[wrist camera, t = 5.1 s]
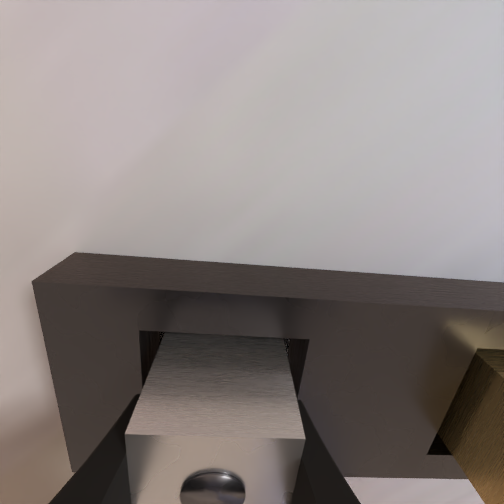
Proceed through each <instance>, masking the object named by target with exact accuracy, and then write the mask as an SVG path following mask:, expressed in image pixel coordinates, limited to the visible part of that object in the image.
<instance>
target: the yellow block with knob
mask: <svg viewBox="0 0 504 504" xmlns="http://www.w3.org/2000/svg"><path fill="white" fill-rule="evenodd" d="M437 433H438V435H439V436H440V438H441V439H442V441H443V442H444V444H445V445H446V446H447V448H448V449H449V451H450V452H451V454H452V455H453V457H454V458H455V460H456V461H457V463H458V464H459V466H460V467H461V469H462V470H463V472H464V473H465V475H466V476H467V478H468V479H469V481H470V482H471V483H472V485H473V486H474V488H475V489H476V491H477V492H478V494H479V495H480V497H481V498H482V500H483V501H484V503H485V504H504V350H502V349H483V348H477V350H476V352H475V354H474V356H473V358H472V360H471V363H470V365H469V367H468V369H467V371H466V373H465V375H464V377H463V379H462V381H461V383H460V386H459V388H458V390H457V392H456V394H455V396H454V398H453V400H452V402H451V404H450V407H449V409H448V411H447V413H446V415H445V417H444V419H443V421H442V423H441V425H440V427H439V430H438V432H437Z"/></svg>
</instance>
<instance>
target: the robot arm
mask: <svg viewBox="0 0 504 504" xmlns="http://www.w3.org/2000/svg"><path fill="white" fill-rule="evenodd" d="M139 397H140V394H136V395H135V396H134V397H133V398H132V400H131V401H130V403H129V404H128V406H127V407H126V409H125V410H124V411H123V413H122V414H121V416H120V417H119V418H118V420H117V421H116V422H115V424H114V425H113V426H112V428H111V429H110V430H109V432H108V433H107V434H106V436H105V437H104V438H103V439H102V441H101V442H100V443H99V445H98V446H97V447H96V448H95V450H94V451H93V452H92V453H91V455H90V456H89V457H88V458H87V460H86V461H85V462H84V463H83V465H82V466H81V467H80V468H79V469H78V470H77V472H76V473H75V474H74V475H73V476H72V477H71V479H70V480H69V481H68V482H67V483H66V484H65V486H64V487H63V488H62V489H61V490H60V491H59V493H58V494H57V495H56V496H55V497H54V498H53V499H52V500H51V502H50V503H49V504H131V496H130V485H129V475H128V464H127V454H126V443H125V432H126V429H127V427H128V424H129V422H130V419H131V417H132V414H133V412H134V409H135V407H136V404H137V402H138V399H139ZM297 402H298V407H299V411H300V416H301V420H302V425H303V430H304V434H305V444H304V448H303V452H302V457H301V461H300V465H299V470H298V474H297V478H296V483H295V487H294V491H293V496H292V500H291V504H361V503H360V502H359V500H358V499H357V497H356V496H355V494H354V493H353V491H352V489H351V488H350V486H349V485H348V483H347V482H346V480H345V478H344V477H343V475H342V474H341V472H340V470H339V469H338V467H337V465H336V463H335V462H334V460H333V458H332V457H331V455H330V453H329V452H328V450H327V448H326V446H325V444H324V443H323V441H322V439H321V437H320V435H319V433H318V432H317V430H316V428H315V426H314V424H313V422H312V420H311V418H310V416H309V414H308V412H307V410H306V408H305V406H304V404H303V402H302V401H301V400H297Z"/></svg>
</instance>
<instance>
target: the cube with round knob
mask: <svg viewBox="0 0 504 504" xmlns="http://www.w3.org/2000/svg"><path fill="white" fill-rule="evenodd" d="M125 443H126V454H127V464H128V475H129V485H130V496H131V504H291V500H292V496H293V491H294V487H295V483H296V478H297V474H298V470H299V465H300V461H301V457H302V452H303V448H304V444H305V434H304V430H303V425H302V420H301V416H300V411H299V407H298V402H297V398H296V393H295V389H294V384H293V380H292V375H291V371H290V366H289V362H288V357H287V353H286V348H285V344H284V339H283V338H275V337H256V336H237V335H218V334H199V333H180V332H165V334H164V336H163V339H162V341H161V344H160V346H159V349H158V351H157V354H156V356H155V359H154V361H153V364H152V366H151V369H150V372H149V374H148V377H147V379H146V382H145V384H144V387H143V389H142V392H141V394H140V397H139V399H138V402H137V404H136V407H135V409H134V412H133V414H132V417H131V419H130V422H129V424H128V427H127V429H126V432H125Z"/></svg>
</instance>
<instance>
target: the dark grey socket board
mask: <svg viewBox="0 0 504 504" xmlns="http://www.w3.org/2000/svg"><path fill="white" fill-rule="evenodd" d="M32 285H33V289H34V294H35V299H36V303H37V308H38V313H39V318H40V322H41V327H42V332H43V336H44V341H45V346H46V351H47V355H48V360H49V365H50V370H51V374H52V379H53V384H54V388H55V393H56V398H57V403H58V407H59V412H60V417H61V421H62V426H63V431H64V436H65V440H66V445H67V450H68V454H69V459H70V464H71V469H72V472H77V470H78V469H79V468H80V467H81V466H82V465H83V463H84V462H85V461H86V460H87V458H88V457H89V456H90V455H91V453H92V452H93V451H94V450H95V448H96V447H97V446H98V445H99V443H100V442H101V441H102V439H103V438H104V437H105V436H106V434H107V433H108V432H109V430H110V429H111V428H112V426H113V425H114V424H115V422H116V421H117V420H118V418H119V417H120V416H121V414H122V413H123V411H124V410H125V409H126V407H127V406H128V404H129V403H130V401H131V400H132V398H133V397H134V396H135V395H136V394H141V392H142V389H143V387H144V384H145V382H146V379H147V377H148V374H149V372H150V369H151V366H152V364H153V361H154V359H155V356H156V354H157V351H158V349H159V346H160V334H159V331H161V332H180V333H199V334H218V335H237V336H256V337H275V338H290V344H289V350H288V355H287V357H288V362H289V366H290V371H291V375H292V380H293V384H294V389H295V393H296V398H297V400H301V401H302V402H303V404H304V406H305V408H306V410H307V412H308V414H309V416H310V418H311V420H312V422H313V424H314V426H315V428H316V430H317V432H318V433H319V435H320V437H321V439H322V441H323V443H324V444H325V446H326V448H327V450H328V452H329V453H330V455H331V457H332V458H333V460H334V462H335V463H336V465H337V467H338V469H339V470H340V472H341V474H342V475H343V477H378V478H435V479H468V478H467V476H466V475H465V473H464V472H463V470H462V469H461V467H460V466H459V464H458V463H457V461H456V460H455V458H454V457H453V455H452V454H451V452H450V451H449V449H448V448H447V446H446V445H445V444H444V442H443V441H442V439H441V438H440V436H439V435H438V433H437V432H438V430H439V427H440V425H441V423H442V421H443V419H444V417H445V415H446V413H447V411H448V409H449V407H450V404H451V402H452V400H453V398H454V396H455V394H456V392H457V390H458V388H459V386H460V383H461V381H462V379H463V377H464V375H465V373H466V371H467V369H468V367H469V365H470V363H471V360H472V358H473V356H474V354H475V352H476V350H477V348H483V349H502V350H504V283H501V282H487V281H473V280H458V279H444V278H430V277H416V276H402V275H388V274H374V273H360V272H346V271H331V270H317V269H303V268H289V267H275V266H261V265H247V264H233V263H218V262H204V261H190V260H176V259H162V258H148V257H134V256H120V255H105V254H91V253H77V252H75V253H73V254H72V255H70V256H69V257H67V258H66V259H64V260H63V261H61V262H60V263H58V264H57V265H55V266H54V267H52V268H51V269H49V270H48V271H46V272H45V273H43V274H42V275H40V276H39V277H38V278H36V279H35V280H33V281H32Z"/></svg>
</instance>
